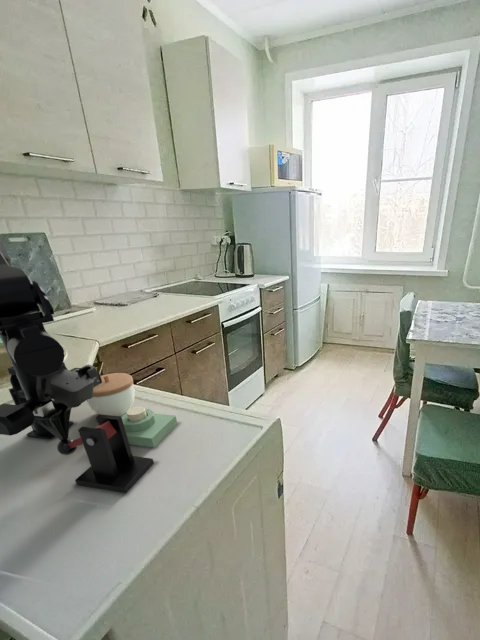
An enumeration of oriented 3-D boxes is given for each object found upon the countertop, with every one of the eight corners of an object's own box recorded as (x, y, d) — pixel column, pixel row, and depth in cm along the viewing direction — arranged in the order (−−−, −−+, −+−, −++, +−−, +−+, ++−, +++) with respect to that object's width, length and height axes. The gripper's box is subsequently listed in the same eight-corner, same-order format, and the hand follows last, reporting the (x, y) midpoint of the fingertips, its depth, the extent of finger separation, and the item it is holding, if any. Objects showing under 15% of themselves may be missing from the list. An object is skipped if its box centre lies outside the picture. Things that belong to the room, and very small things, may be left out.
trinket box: (122, 424, 79) (111, 387, 75) (80, 421, 81) (68, 384, 77) (148, 401, 88) (140, 367, 84) (110, 399, 90) (100, 365, 86)
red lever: (60, 460, 63) (49, 446, 62) (73, 450, 66) (63, 437, 65) (107, 442, 58) (96, 427, 57) (119, 432, 61) (109, 417, 60)
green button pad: (103, 441, 73) (98, 424, 71) (131, 419, 81) (126, 403, 79) (153, 447, 70) (149, 430, 68) (177, 423, 78) (174, 408, 76)
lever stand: (76, 485, 61) (56, 433, 56) (108, 457, 68) (92, 408, 63) (126, 493, 59) (108, 439, 54) (154, 463, 65) (140, 413, 61)
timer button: (124, 421, 73) (122, 414, 72) (135, 412, 76) (133, 405, 75) (139, 423, 72) (137, 415, 71) (150, 414, 75) (148, 407, 74)
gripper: (19, 386, 46) (58, 480, 53) (115, 340, 62) (135, 416, 69) (-44, 381, 49) (0, 471, 55) (64, 338, 65) (88, 412, 72)
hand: (64, 439), depth 63 cm, fingers closed, pressing on red lever
